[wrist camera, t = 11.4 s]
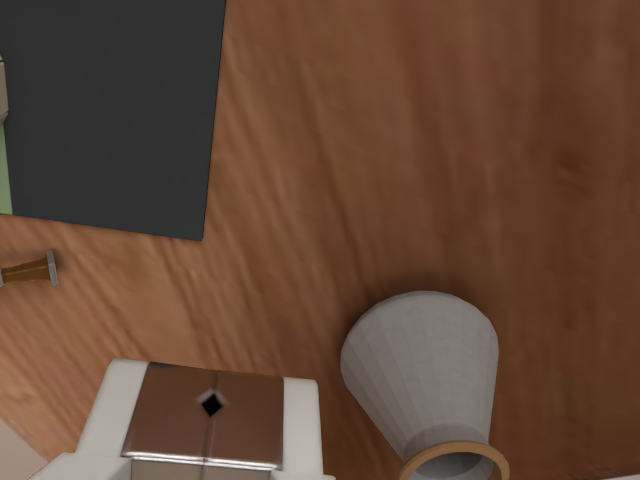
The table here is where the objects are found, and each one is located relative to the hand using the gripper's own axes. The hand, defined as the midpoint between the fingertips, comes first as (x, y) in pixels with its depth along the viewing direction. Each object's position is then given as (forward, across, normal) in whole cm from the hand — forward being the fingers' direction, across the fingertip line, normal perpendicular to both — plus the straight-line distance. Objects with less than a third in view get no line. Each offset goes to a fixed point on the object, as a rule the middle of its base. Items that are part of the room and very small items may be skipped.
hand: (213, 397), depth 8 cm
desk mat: (+26, +14, +5) cm, 30 cm away
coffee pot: (+26, -17, +24) cm, 39 cm away
